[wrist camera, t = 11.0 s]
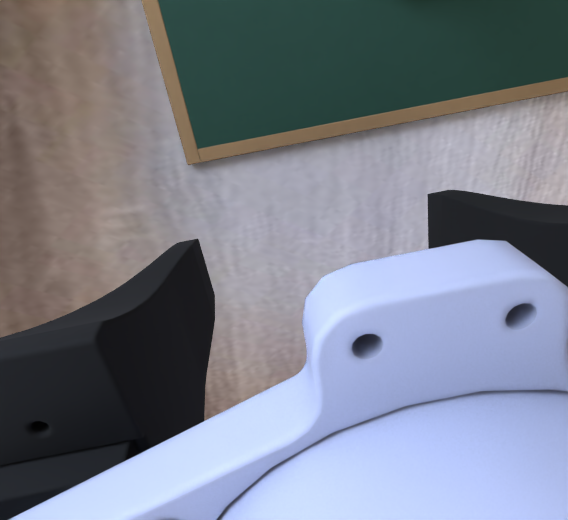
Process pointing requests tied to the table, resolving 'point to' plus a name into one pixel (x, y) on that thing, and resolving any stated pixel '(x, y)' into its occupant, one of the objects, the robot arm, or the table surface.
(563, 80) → the desk mat
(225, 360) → the table surface
